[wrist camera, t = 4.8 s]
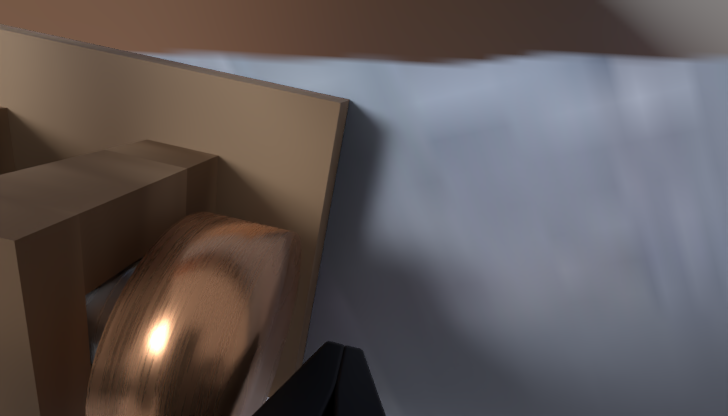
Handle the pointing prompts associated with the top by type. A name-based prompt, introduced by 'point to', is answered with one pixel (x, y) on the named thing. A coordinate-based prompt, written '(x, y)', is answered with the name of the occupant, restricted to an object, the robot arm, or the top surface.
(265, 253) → the shaft
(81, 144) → the bearing stand
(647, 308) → the top surface
